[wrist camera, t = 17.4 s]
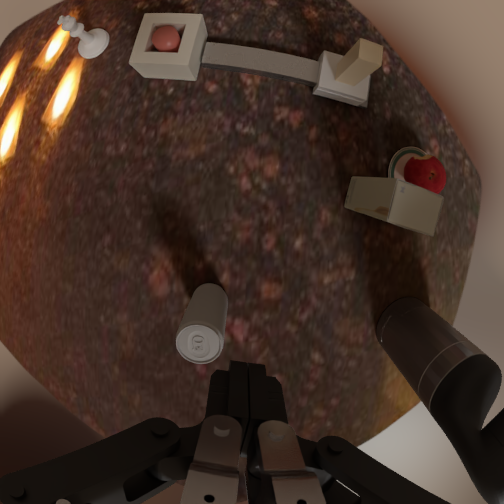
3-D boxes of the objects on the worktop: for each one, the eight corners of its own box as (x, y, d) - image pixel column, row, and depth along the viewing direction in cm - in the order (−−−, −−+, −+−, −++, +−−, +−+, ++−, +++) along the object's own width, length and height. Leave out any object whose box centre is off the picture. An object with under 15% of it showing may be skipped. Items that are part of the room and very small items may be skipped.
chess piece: (110, 51, 32) (78, 23, 22) (80, 63, 32) (43, 41, 22) (108, 24, 31) (79, -6, 21) (79, 37, 31) (45, 12, 21)
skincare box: (342, 207, 38) (383, 221, 26) (351, 174, 37) (394, 176, 25) (385, 220, 39) (434, 238, 27) (393, 189, 38) (445, 197, 26)
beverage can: (193, 314, 41) (177, 364, 29) (191, 281, 40) (171, 322, 28) (229, 315, 41) (224, 365, 30) (227, 281, 40) (221, 323, 28)
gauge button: (187, 42, 31) (180, 26, 26) (182, 62, 32) (174, 48, 27) (165, 41, 31) (155, 25, 26) (159, 61, 32) (148, 47, 27)
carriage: (361, 71, 33) (399, 41, 22) (357, 106, 35) (396, 84, 24) (318, 58, 33) (344, 21, 22) (312, 93, 34) (338, 64, 23)
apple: (375, 178, 37) (398, 179, 31) (406, 135, 36) (432, 130, 30) (414, 216, 39) (439, 223, 32) (442, 174, 37) (469, 175, 31)
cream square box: (208, 33, 32) (202, 13, 26) (196, 81, 34) (187, 65, 28) (157, 31, 32) (145, 12, 26) (144, 77, 33) (128, 63, 27)
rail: (368, 76, 34) (374, 71, 32) (364, 108, 35) (370, 105, 33) (209, 41, 32) (208, 35, 30) (201, 74, 34) (199, 69, 32)
